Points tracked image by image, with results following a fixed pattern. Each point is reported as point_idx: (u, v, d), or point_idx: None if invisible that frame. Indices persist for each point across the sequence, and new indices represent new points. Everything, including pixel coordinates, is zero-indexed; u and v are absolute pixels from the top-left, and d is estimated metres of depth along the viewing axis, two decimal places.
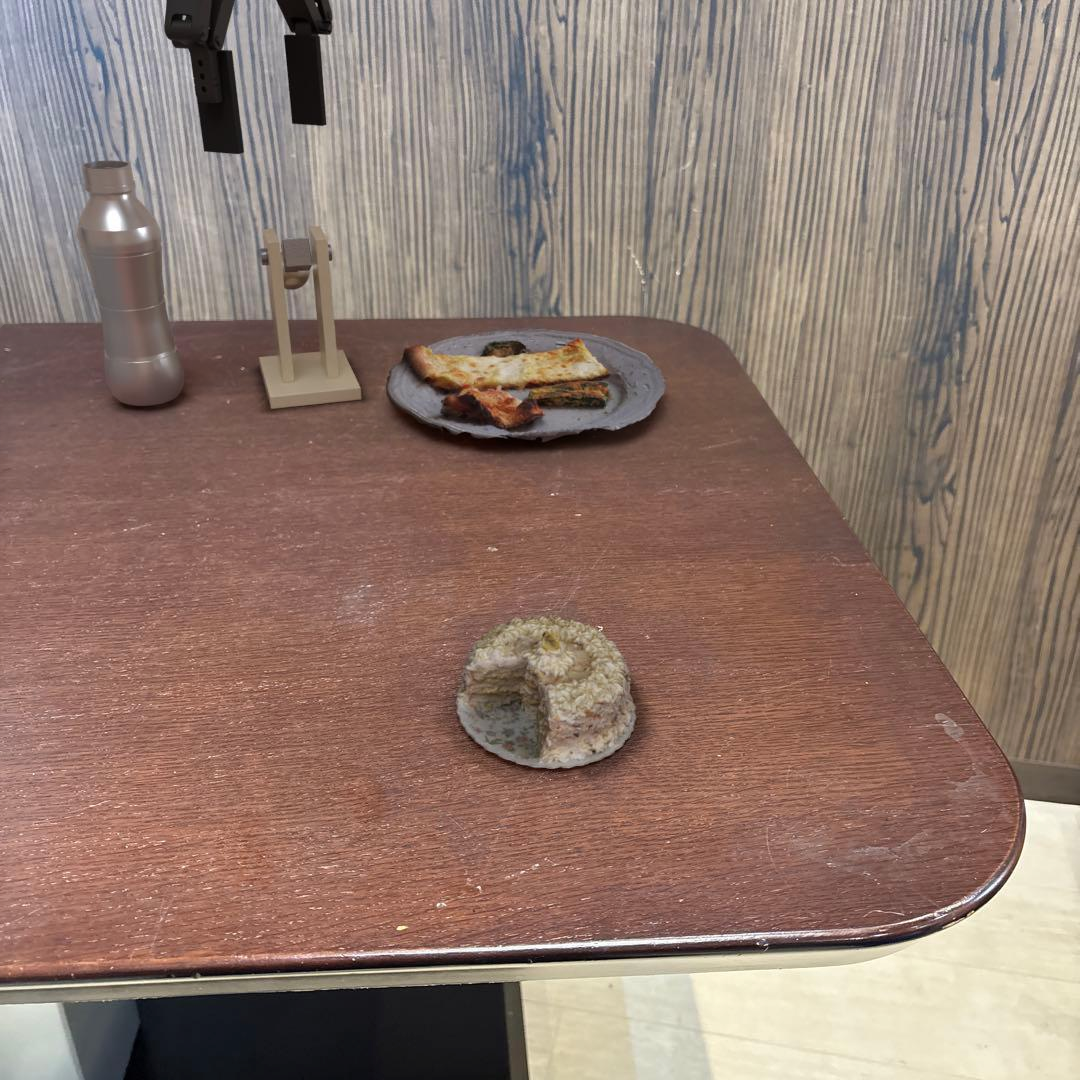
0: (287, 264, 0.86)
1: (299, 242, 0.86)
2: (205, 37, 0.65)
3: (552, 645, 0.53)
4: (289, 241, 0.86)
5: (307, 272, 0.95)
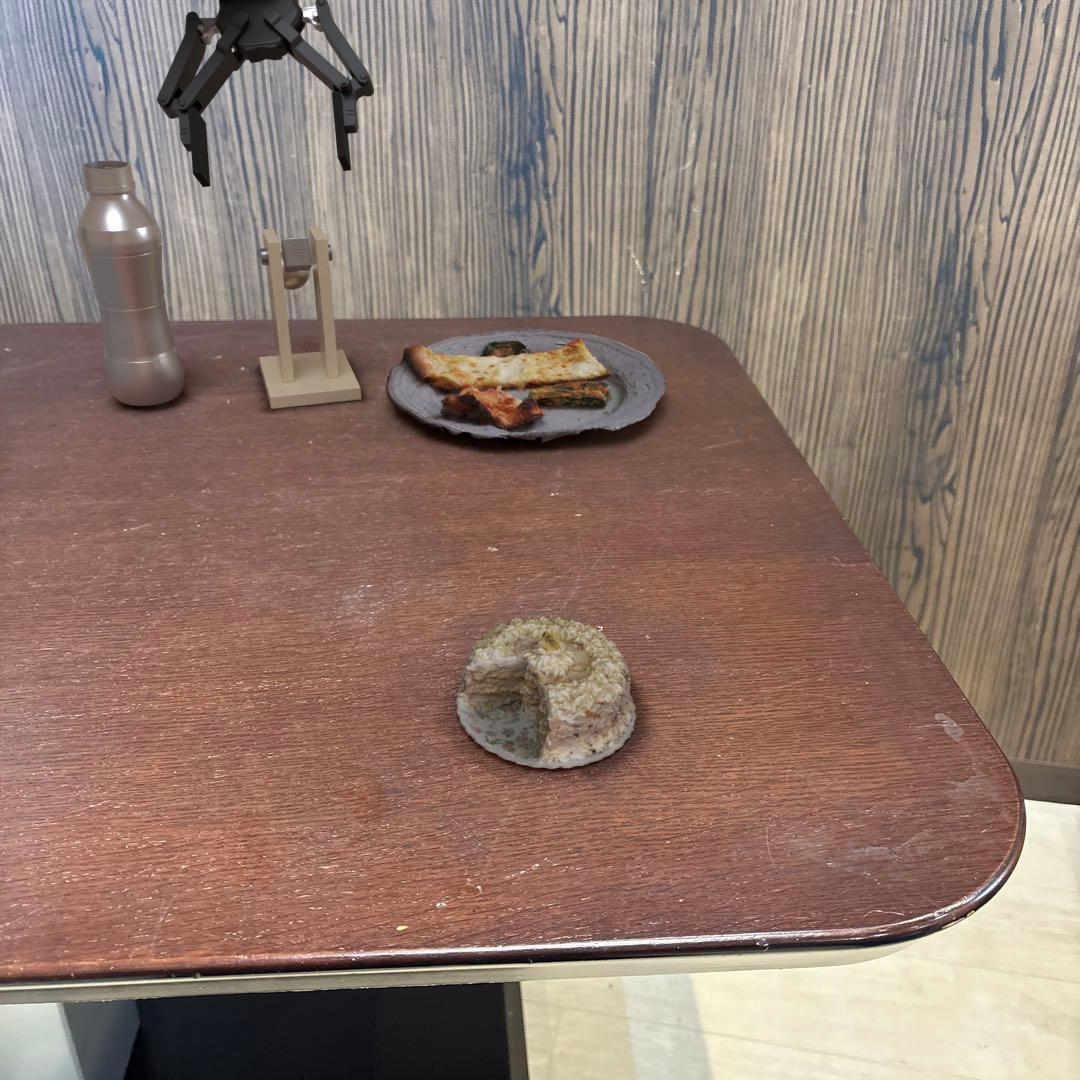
0: (287, 264, 0.86)
1: (299, 242, 0.86)
2: None
3: (552, 645, 0.53)
4: (289, 241, 0.86)
5: (307, 272, 0.95)
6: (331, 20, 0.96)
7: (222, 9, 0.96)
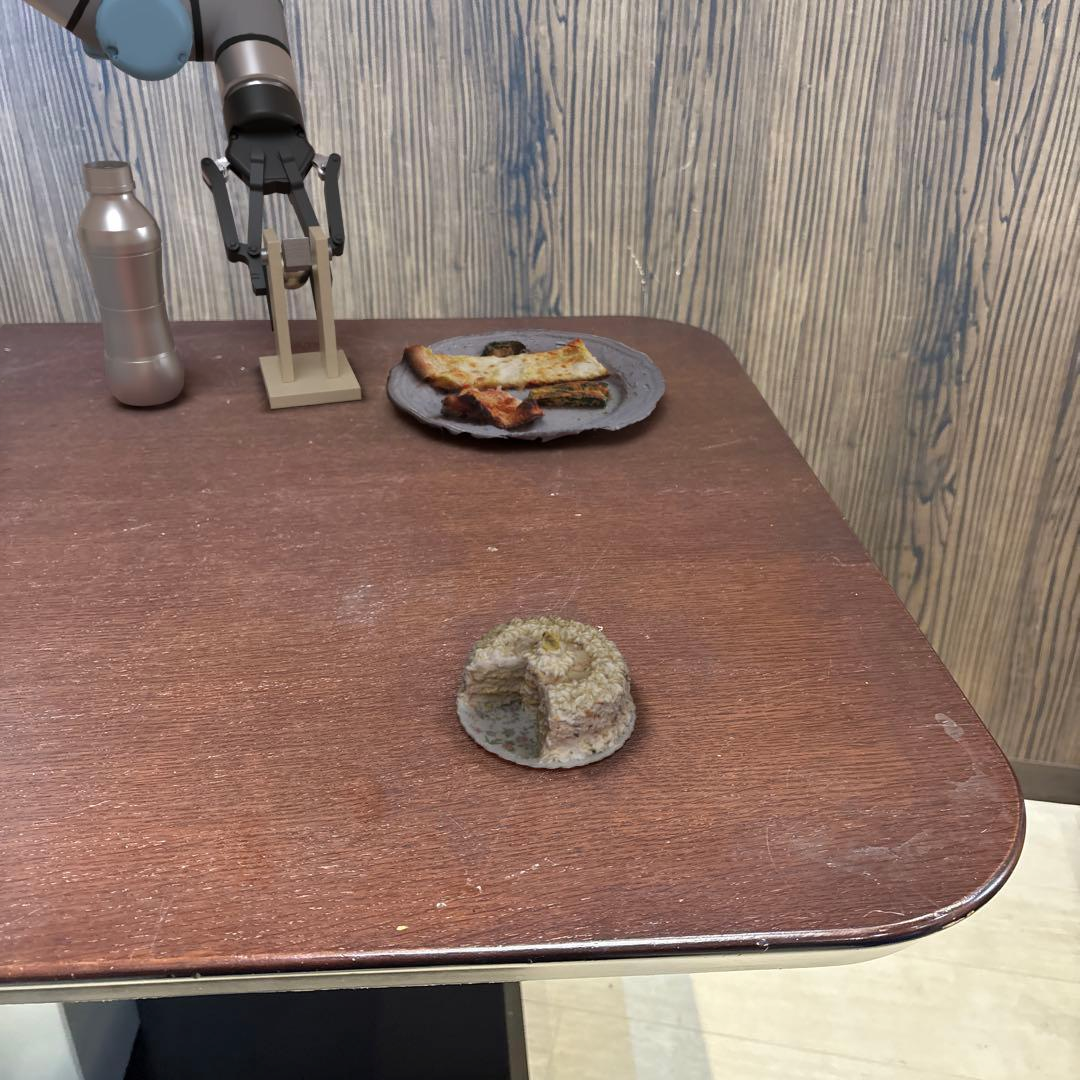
0: (287, 264, 0.86)
1: (299, 242, 0.86)
2: None
3: (552, 645, 0.53)
4: (289, 241, 0.86)
5: (307, 272, 0.95)
6: (335, 177, 0.98)
7: (233, 142, 0.96)
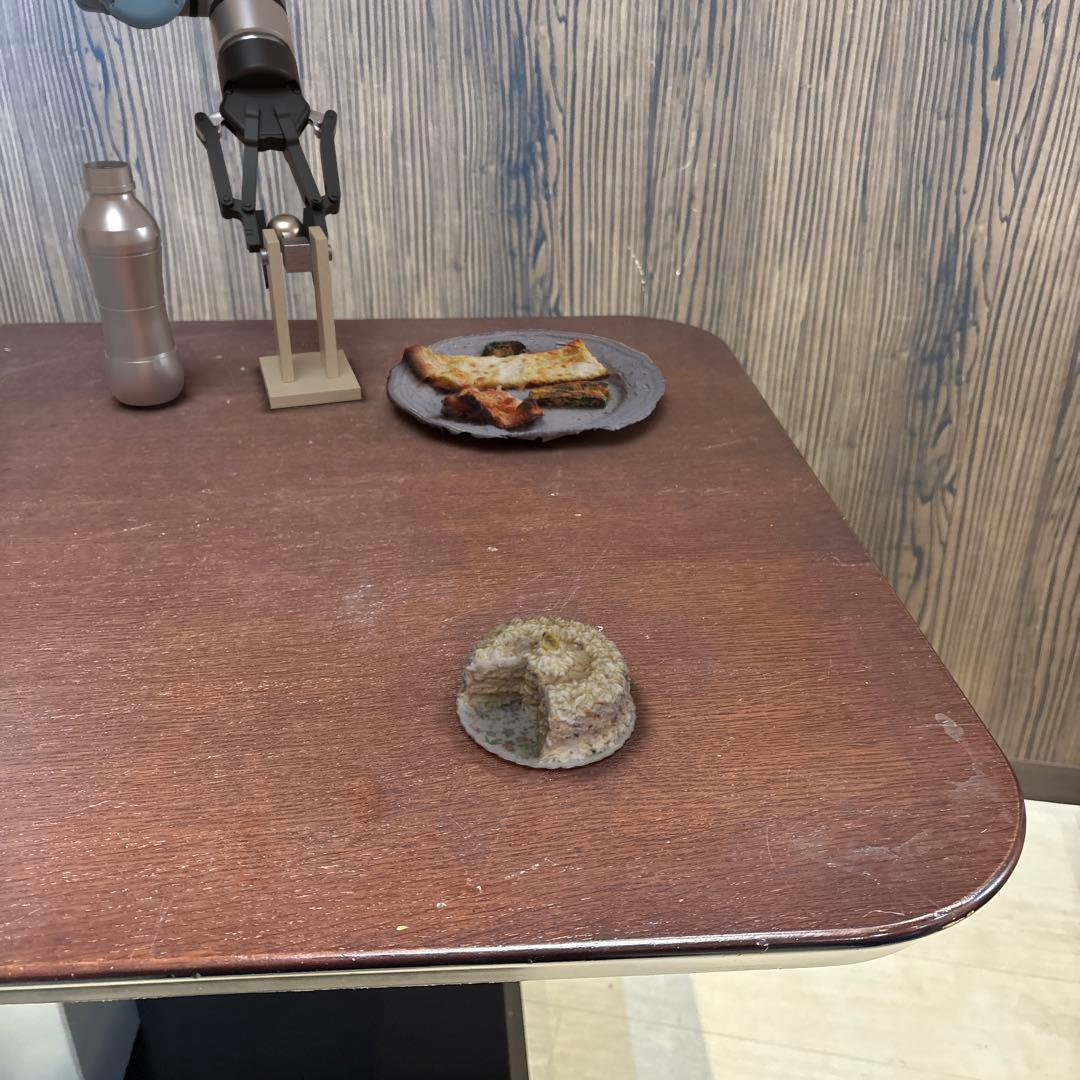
0: (287, 271, 0.87)
1: (301, 249, 0.86)
2: None
3: (552, 645, 0.53)
4: (290, 248, 0.86)
5: None
6: (331, 134, 0.96)
7: (227, 97, 0.94)
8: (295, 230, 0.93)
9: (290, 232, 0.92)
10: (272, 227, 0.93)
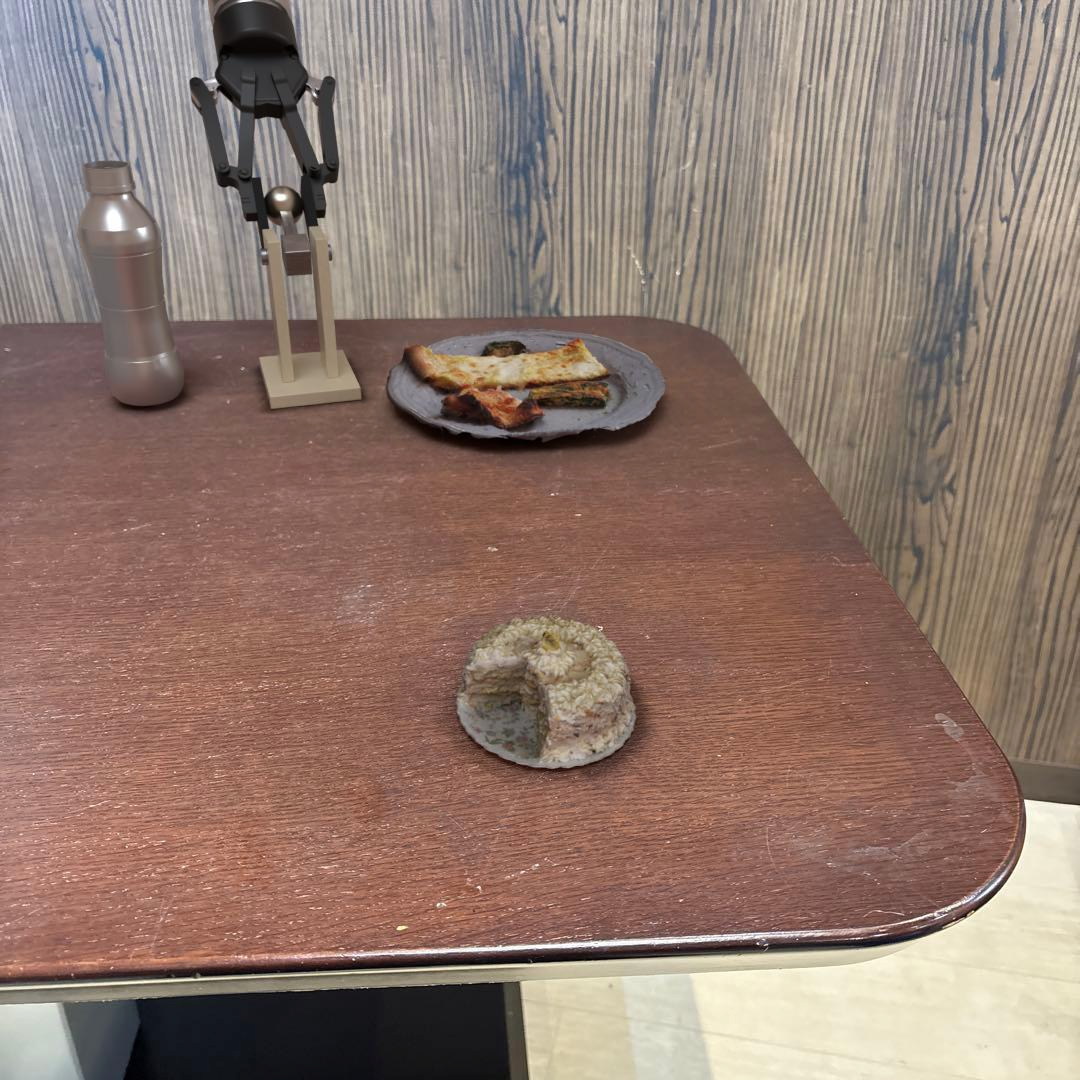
0: (287, 274, 0.87)
1: (301, 255, 0.86)
2: None
3: (552, 645, 0.53)
4: (291, 255, 0.86)
5: (301, 215, 0.93)
6: (330, 100, 0.94)
7: (223, 62, 0.92)
8: (294, 208, 0.91)
9: (288, 212, 0.91)
10: (270, 203, 0.91)
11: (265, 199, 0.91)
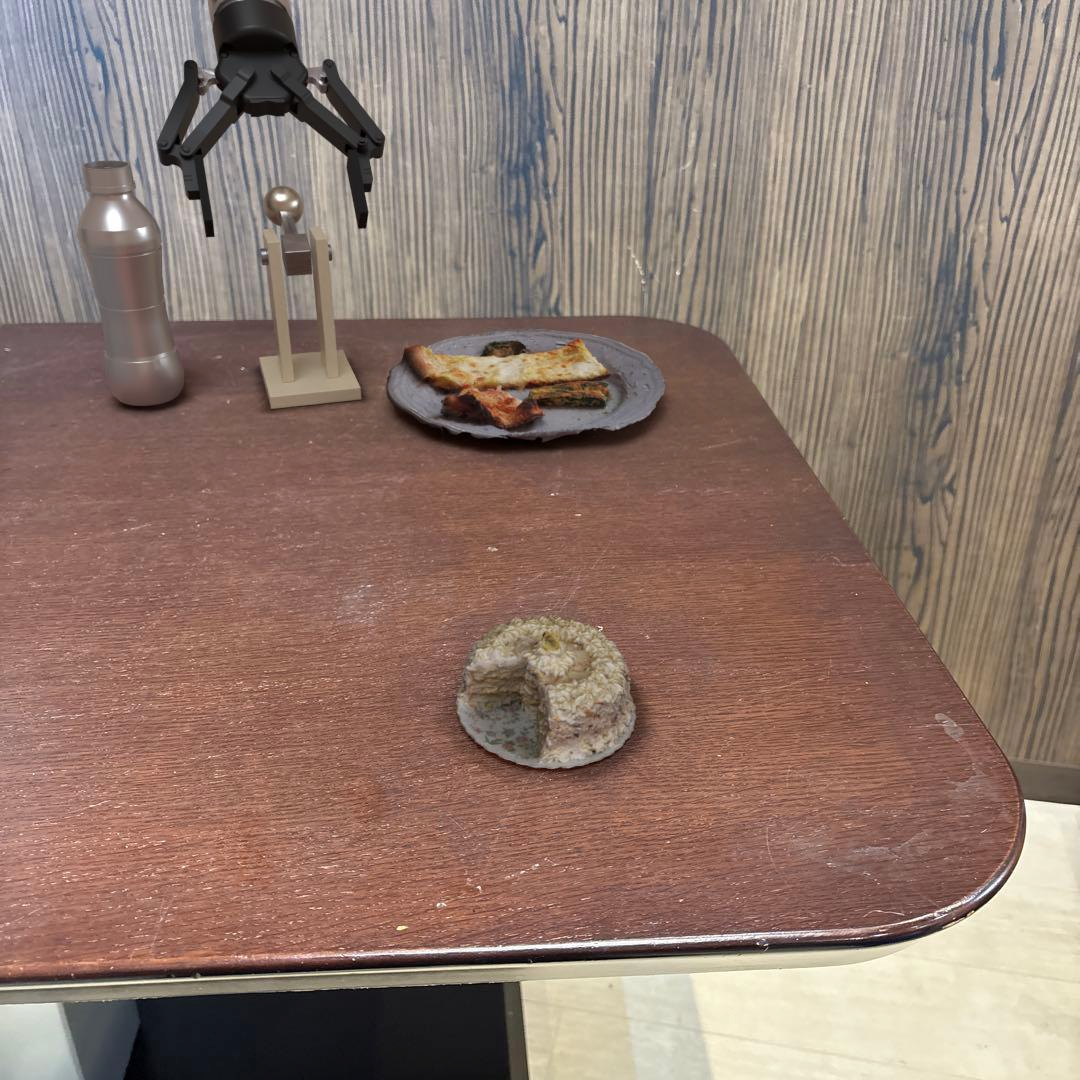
0: (287, 274, 0.87)
1: (301, 255, 0.86)
2: None
3: (552, 645, 0.53)
4: (291, 255, 0.86)
5: (301, 215, 0.93)
6: (341, 82, 0.94)
7: (223, 60, 0.92)
8: (294, 208, 0.91)
9: (288, 212, 0.91)
10: (270, 203, 0.91)
11: (265, 199, 0.91)
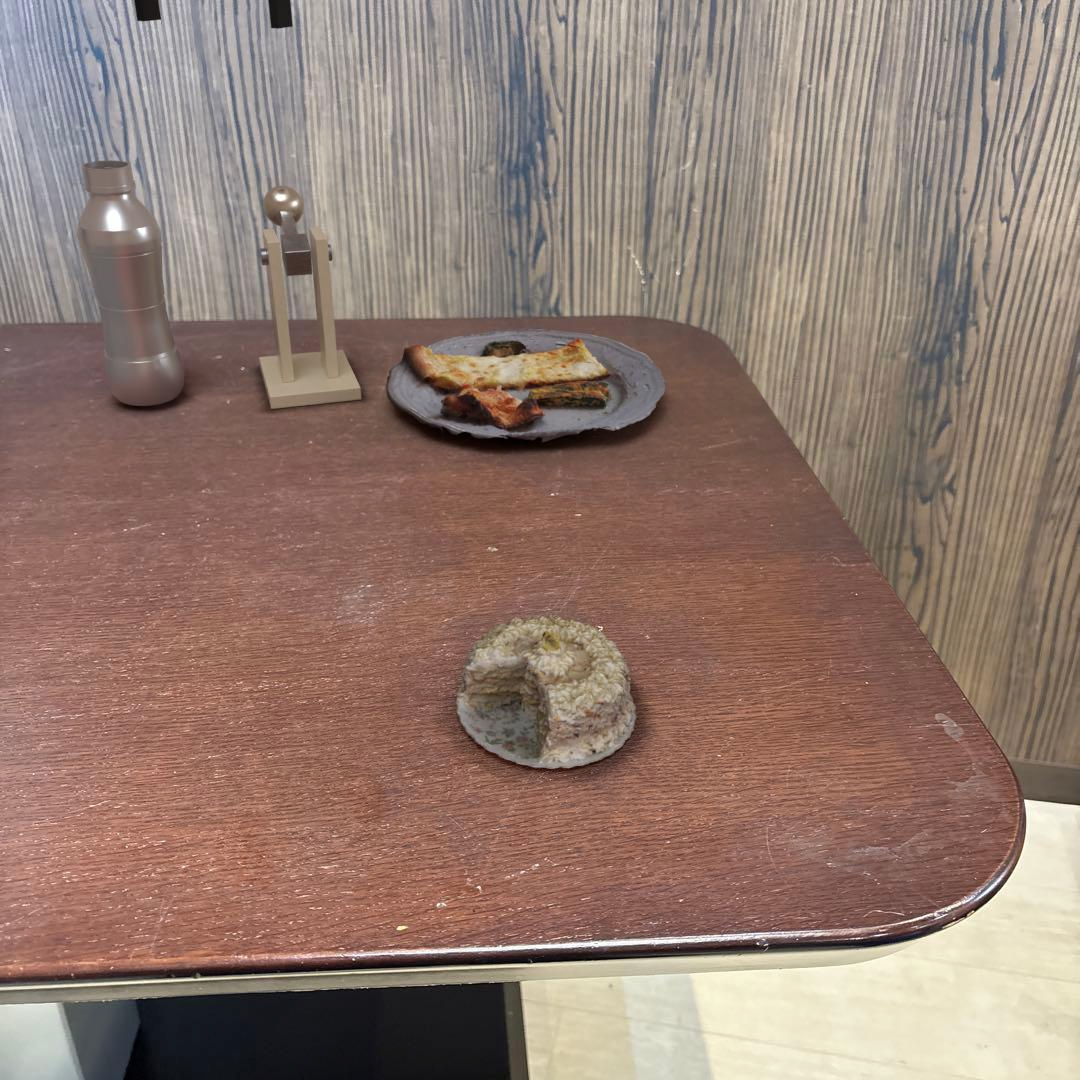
0: (287, 274, 0.87)
1: (301, 255, 0.86)
2: None
3: (552, 645, 0.53)
4: (291, 255, 0.86)
5: (301, 215, 0.93)
6: None
7: None
8: (294, 208, 0.91)
9: (288, 212, 0.91)
10: (270, 203, 0.91)
11: (265, 199, 0.91)
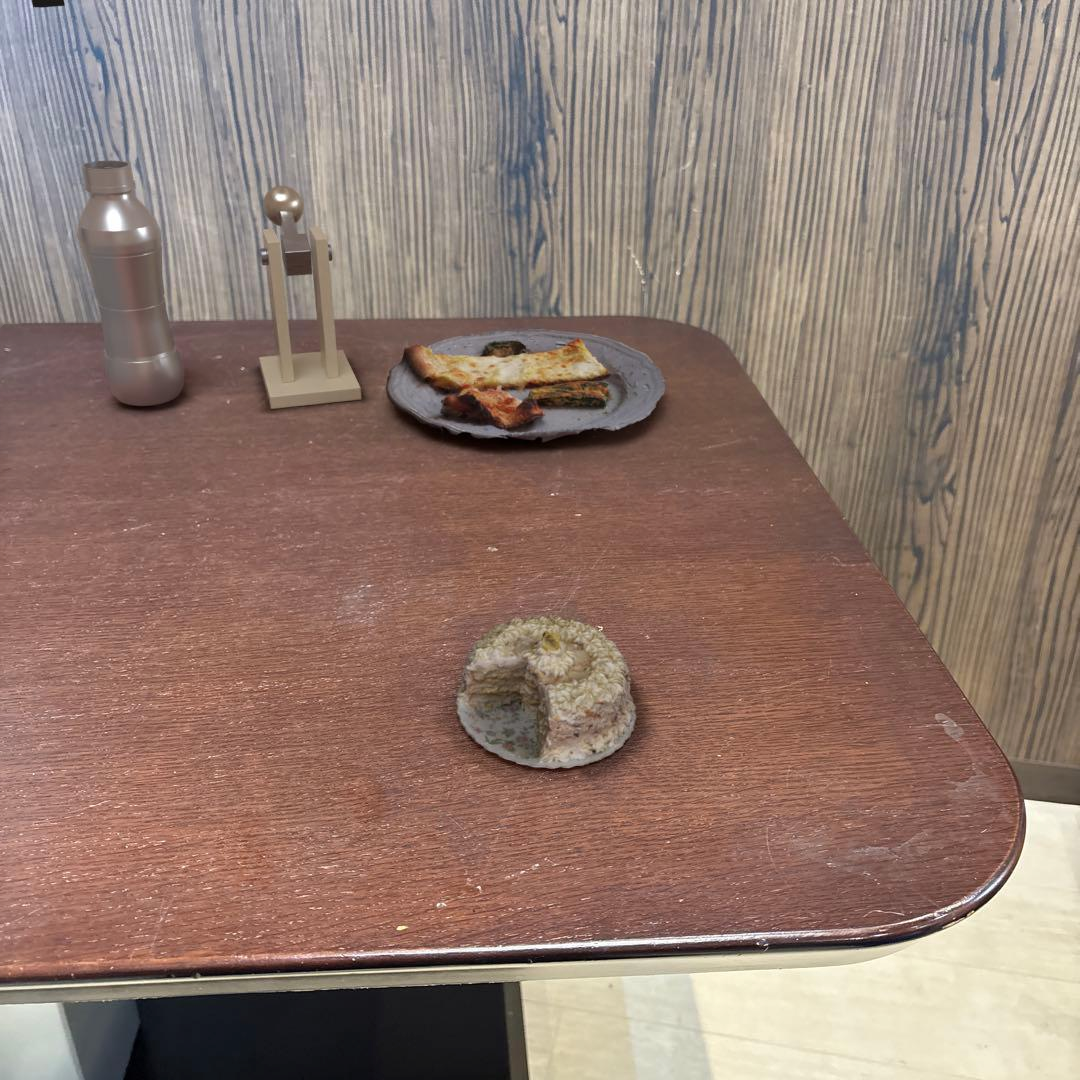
0: (287, 274, 0.87)
1: (301, 255, 0.86)
2: None
3: (552, 645, 0.53)
4: (291, 255, 0.86)
5: (301, 215, 0.93)
6: None
7: None
8: (294, 208, 0.91)
9: (288, 212, 0.91)
10: (270, 203, 0.91)
11: (265, 199, 0.91)
